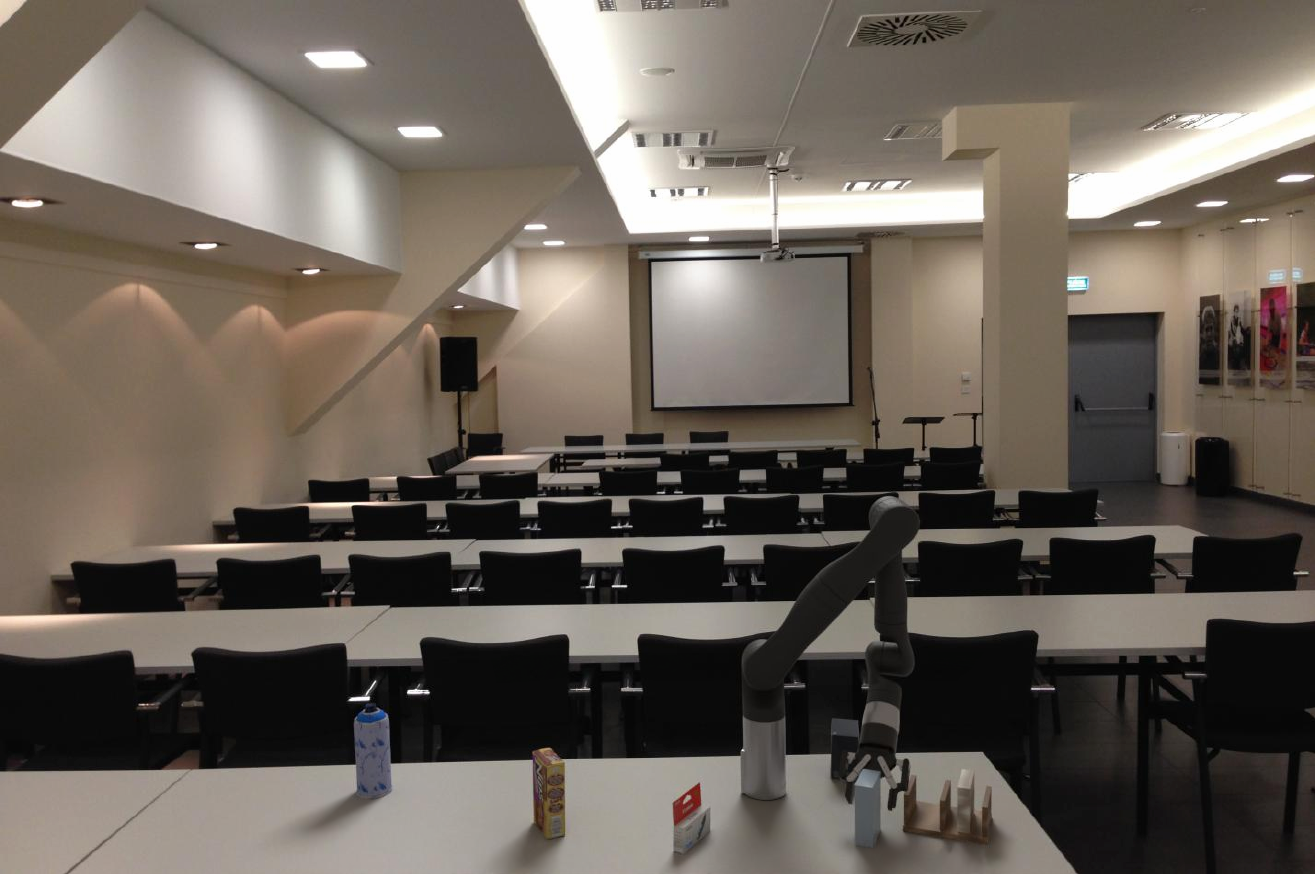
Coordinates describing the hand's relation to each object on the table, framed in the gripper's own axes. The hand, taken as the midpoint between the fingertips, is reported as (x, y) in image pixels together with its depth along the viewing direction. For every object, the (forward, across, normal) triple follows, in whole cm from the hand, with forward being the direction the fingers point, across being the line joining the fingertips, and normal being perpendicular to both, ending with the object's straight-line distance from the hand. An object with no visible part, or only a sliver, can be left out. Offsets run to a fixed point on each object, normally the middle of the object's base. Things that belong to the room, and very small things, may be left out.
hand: (869, 806), depth 190 cm
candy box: (+19, -61, -11) cm, 65 cm away
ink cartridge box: (+15, -32, -7) cm, 36 cm away
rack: (-3, +14, +11) cm, 18 cm away
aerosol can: (+19, -107, -10) cm, 109 cm away
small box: (-15, -11, +24) cm, 30 cm away
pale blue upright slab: (+5, 0, +3) cm, 6 cm away
